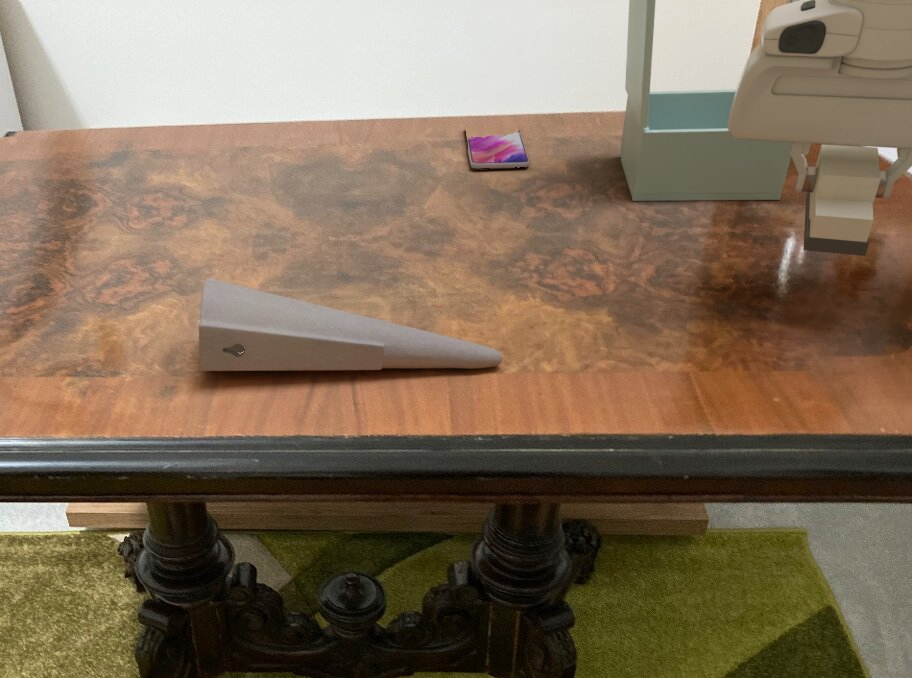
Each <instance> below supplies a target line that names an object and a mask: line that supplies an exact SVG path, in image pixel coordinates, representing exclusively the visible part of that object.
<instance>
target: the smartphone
mask: <svg viewBox="0 0 912 678" xmlns="http://www.w3.org/2000/svg"><path fill="white" fill-rule="evenodd" d="M516 132H517V131H516ZM516 132H515V133H513V134H508V135H506V136H504V135H502V136H501V135H497V136H494V135H493V136H487V137H485V138H482V137H475V138H473V137H471V138H473V139H469V138H468V139H469V140H468V150H467V155H469V156H468V161H469V165H471V166H470V168H472V169H473V168H490V169H521V168H520V167H525V168H527V167H529V166H530V160H529V156H528V153H527V150H526V146H525V143H524V139H523V136H522V133H521V134H519V133H516ZM503 167H504V168H503ZM515 167H517V168H515Z"/></svg>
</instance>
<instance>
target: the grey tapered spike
mask: <svg viewBox="0 0 912 678" xmlns="http://www.w3.org/2000/svg"><path fill="white" fill-rule="evenodd" d="M198 346H199V347H198V349H199V350H198V351H199V352H198V353H199V354H198V355H199V370H200V371H201V372H242V371H243V372H246V371H247V372H249V371H251V372H253V371H254V372H256V371H258V372H259V371H260V372H261V371H263V372H264V371H265V372H266V371H267V372H269V371H271V372H272V371H273V372H274V371H276V372H277V371H279V372H280V371H281V372H282V371H381V370H382V369H468V370H470V369H486V368H493V367H497V366H499V365H501V363H502V361H503V356H502V353H501V352H500V351H499V350H497V349H496V348H493V347H489V346H486V345H482V344H479V343H477V342H476V343H475V342H471V341H468V340H464V339H460V338H457V337H452V336H448V335H444V334H440V333H435V332H432V331H429V330H424V329H420V328H415V327H411V326H407V325H404V324H400V323H396V322H395V323H394V322H391V321H386V320H382V319H378V318H374V317H370V316H366V315H362V314H357V313H354V312H349V311H346V310H341V309H337V308H333V307H329V306H326V305H325V306H324V305H320V304H317V303H313V302H310V301H309V302H308V301H304V300H300V299H297V298H296V299H295V298H293V297H287V296H283V295H279V294H274V293H270V292H267V291H262V290H258V289H255V288H251V287H248V286H244V285H239V284H236V283H230V282H227V281H222V280H219V279H214V278H210V277H207V278H206V279H205V280H204V284H203V288H202V294H201V302H200V312H199V324H198ZM243 351H244V352H243ZM238 352H239V353H241V352H243V353H241V354H239V353H238Z"/></svg>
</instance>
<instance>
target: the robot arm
mask: <svg viewBox="0 0 912 678" xmlns="http://www.w3.org/2000/svg"><path fill="white" fill-rule="evenodd" d="M762 25H763V26H762V30H761V37H760V39H761V42H760V43H759V44H757V45H756V46H755V47H754V49H753V50H752V51H751V52H750V54H749V56H748V57H747V59H746V62H745V64H744V67H743V69H742V72H741V75H740V77H739V80H738V83H737V86H736V89H735V90H736V92H735V96H734V99H733V103H732V106H731V110H730V114H729V119H728V124H727V128H728V130H729V132H730V133H731V135H732V136H733V137H734V138H735V139H745V140H763V141H781V142H792V145H791V158H792V162H793V164H794V166H795V169H796V171H797V178H796V181H795V182H796V183H795V190H794V192H795V193H807V192H810V193H813V191H814V187H815V183H816V180H817V176H818V167H816V166H809V164H808V161H807V159H806V158H807V157H806V156H808V155H809V154H810V150H811V146H812V144H816V145H818V144H819V145H839V146H857V147H874V148H889V149H896V155H897V158H896V159H895V161H894V162H892V164H890V166H888V167H887V168H886V170H880V177H881V180H880V183H879V186H878V190H877V193H876V196H875V199H889V198H890V197H891V194H892V190H893V187H894V184H895V181H898V179H900V178H901V177H902V176H903V175H904V174H905V173H906V172H907V171H909V169H911V168H912V0H796V1H792V2H789V3H785V4H782V5H779V6H776V7H774V8H773V9H771V11H769V13H768V14H767V16H766V18H765V20H764V22H763V24H762Z"/></svg>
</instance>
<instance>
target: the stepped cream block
mask: <svg viewBox="0 0 912 678" xmlns="http://www.w3.org/2000/svg"><path fill="white" fill-rule="evenodd" d="M815 163H816V164H815V167H818V176H817V180H816V183H815V187H814V191H813V193H810V192H806V196H805V207H804V209H805V211H804V214H805V215H804V229H803V231H804V232H803V251H808V252H809V251H810V252H819V253H829V254H841V255H850V256H860V257H861V256H862V257H865V256H866V255H867V251H868V248H869V245H870V233H871V230H872V227H873V223H874V220H875V219H874V209H873V205H874V203H875V199H876V198H875V196H876V193H877V190H878V186H879V183H880V180H881V177H880V171H881V168H880V157H879V147H870V146H852V145H834V144H820V148H819V152H818V156H817V160H816V162H815Z"/></svg>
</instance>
